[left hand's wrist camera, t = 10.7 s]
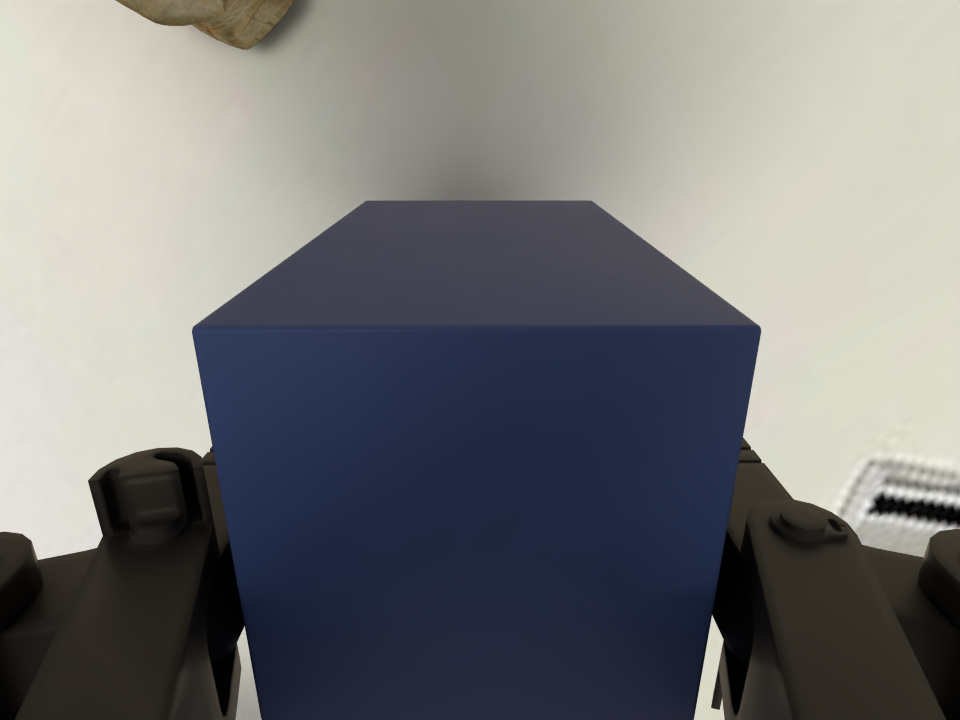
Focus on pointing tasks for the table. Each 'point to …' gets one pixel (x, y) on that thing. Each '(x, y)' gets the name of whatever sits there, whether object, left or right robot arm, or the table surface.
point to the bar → (477, 465)
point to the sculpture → (216, 17)
